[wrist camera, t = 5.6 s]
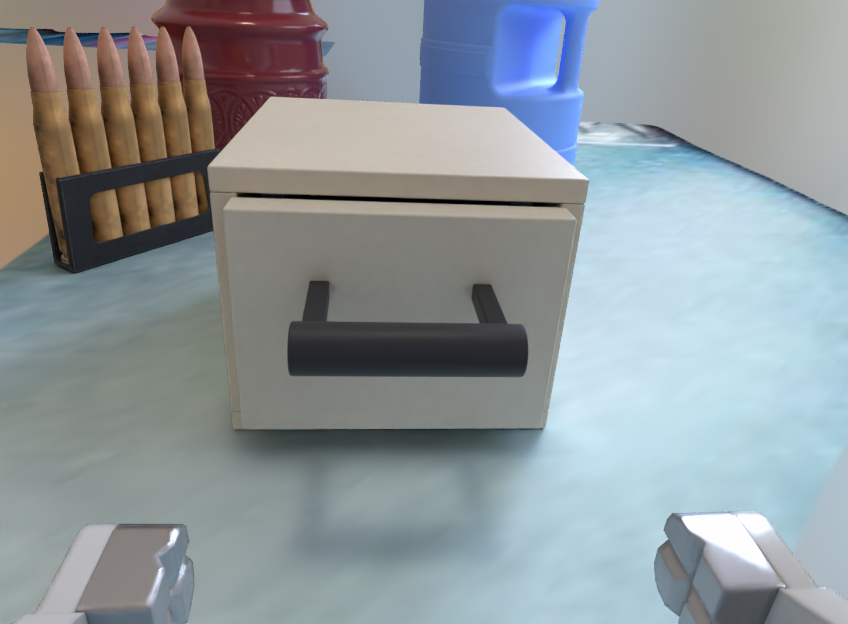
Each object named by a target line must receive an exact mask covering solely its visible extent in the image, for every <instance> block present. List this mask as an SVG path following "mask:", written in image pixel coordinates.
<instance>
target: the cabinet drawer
mask: <svg viewBox="0 0 848 624" xmlns="http://www.w3.org/2000/svg"><path fill="white" fill-rule="evenodd" d="M533 204H534V202H515V201H483V200H452V199H421V198H390V197H359V196H328V195H297V194H266V193H261V198H241V197H232V198H230V199H229V201H228V202H227V204H226V205H225V207H224V208H223V220H224V231H225V242H226V253H227V264H228V275H229V286H230V297H231V308H232V320H233V331H234V342H235V353H236V364H237V375H238V386H239V397H240V408H241V419H242V428H243V429H499V428H541V424H542V418H543V413H544V407H545V401H546V395H547V390H548V384H549V378H550V372H551V367H552V361H553V355H554V349H555V344H556V338H557V332H558V326H559V321H560V315H561V309H562V303H563V298H564V292H565V286H566V280H567V275H568V269H569V263H570V257H571V252H572V246H573V240H574V234H575V229H576V223H577V220H576V218H575V217H574V216H573V215H572V214H571V213H570V212H569V210H568V209H567V208H559V207H533Z"/></svg>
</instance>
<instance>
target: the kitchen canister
mask: <svg viewBox="0 0 848 624" xmlns="http://www.w3.org/2000/svg"><path fill="white" fill-rule="evenodd" d="M151 20H152V22H153V23H154V24H155V25H156V26H157V27H158V28H159V29H160V27H164V28H165V29H166V31H167V33H168V34H169V37H170V39H171V42H172V45H173V48H174V51H175V55H176V60H177V64H178V70H179V78H180V82H181V88H182V94H183V93H184V91H183V71H182V45H183V37H184V33H185V30H186V28H187V27H188V26H189V27H191V29H192V30H193V32H194V34H195V37H196V40H197V43H198V46H199V49H200V53H201V58H202V63H203V70H204V79H205V83H206V90H207V95H208V98H209V102H210V106H211V114H212V124H213V135H214V145H215V148H219V150H220V152H221V151H222V150H223V149H224V148H225V146H226V145H227V144H228V143H229V142H230V141H231V140H232V139H233V138H234V136H235V135H236V134H237V133H238V132H239V131H240V130H241V129H242V128H243V127H244V125H245V124H246V123H247V122H248V121H249V120H250V119H251V118H252V117H253V116H254V114H255V113H256V112H257V111H258V110H259V109H260V108H261V107H262V106H263V104H264V103H265V102H266V101H267V100H268V99H269V98H270V97H289V98H310V99H327V76H328V74H329V72H328V69H327V67H325V66H324V64H323V57H322V45H321V39H322V37H323V35H324V34H325V33H326V31H327V30H328V25H327V23H326V22H325V21H323V20H322V19H321V18H319V17H318V16H317V15H316V14H315V12H314V10H313V7H312V4H311V1H310V0H166V3H165V5H164V6H163V7H162V8H161V9H160V10H158V11H157V12H156V13H154V14H153V15H152V17H151Z"/></svg>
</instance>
